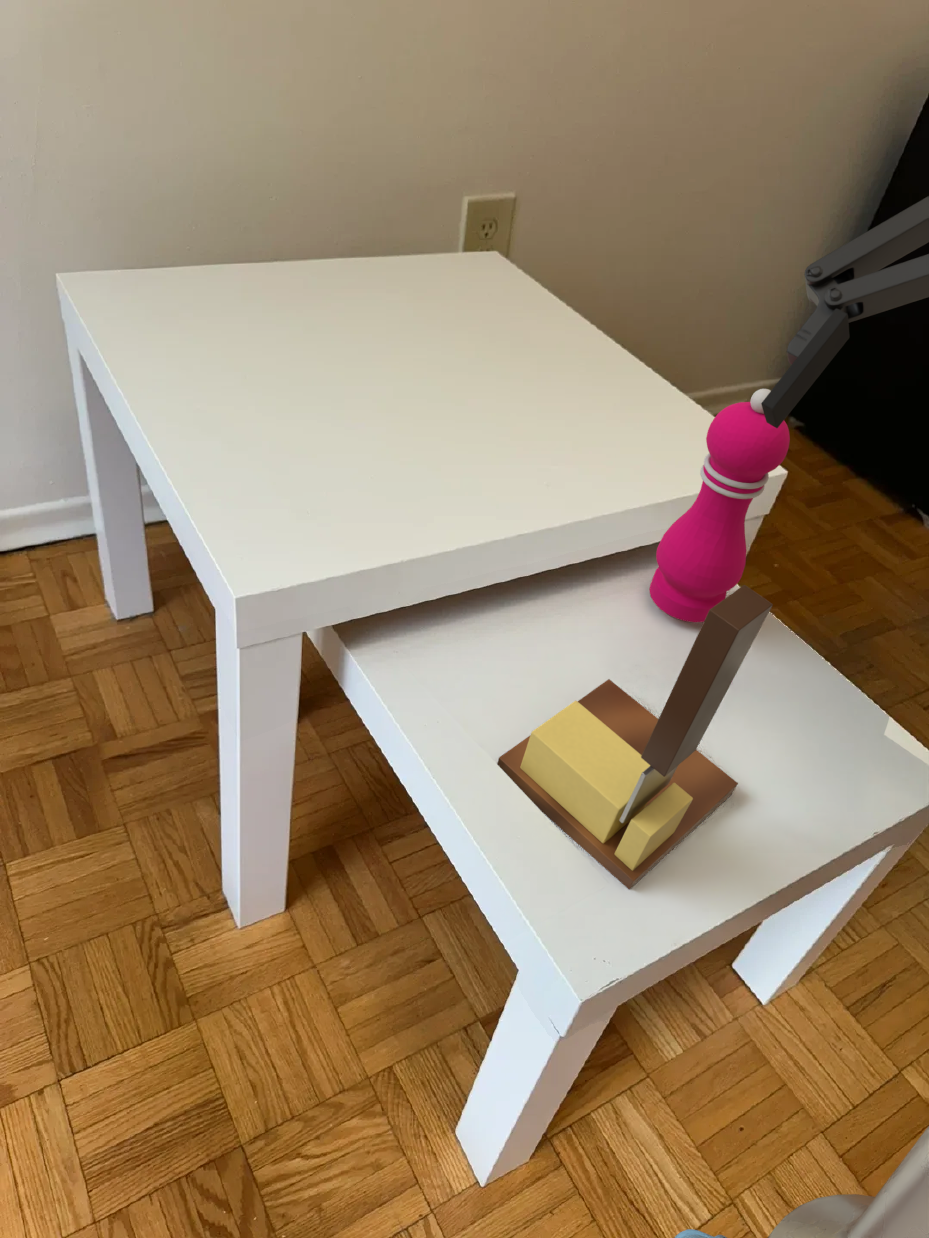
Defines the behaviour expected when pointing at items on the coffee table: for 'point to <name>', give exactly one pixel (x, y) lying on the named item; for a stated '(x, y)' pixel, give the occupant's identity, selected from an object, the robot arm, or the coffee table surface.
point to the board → (690, 775)
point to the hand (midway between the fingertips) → (873, 478)
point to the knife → (699, 690)
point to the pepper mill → (718, 512)
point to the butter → (600, 782)
